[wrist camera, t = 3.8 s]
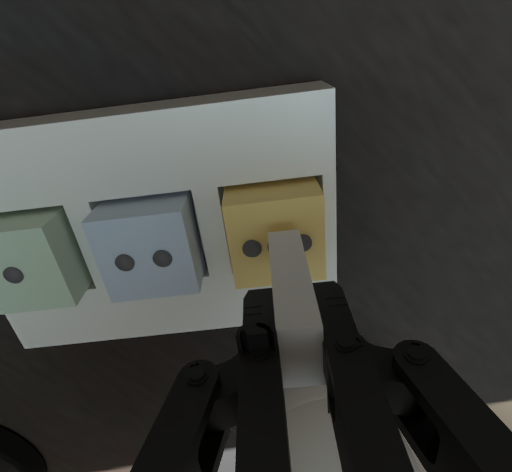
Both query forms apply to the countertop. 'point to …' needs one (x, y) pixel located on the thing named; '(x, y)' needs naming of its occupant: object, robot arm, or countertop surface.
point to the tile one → (40, 261)
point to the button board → (166, 190)
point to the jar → (314, 431)
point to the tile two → (146, 246)
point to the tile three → (273, 225)
